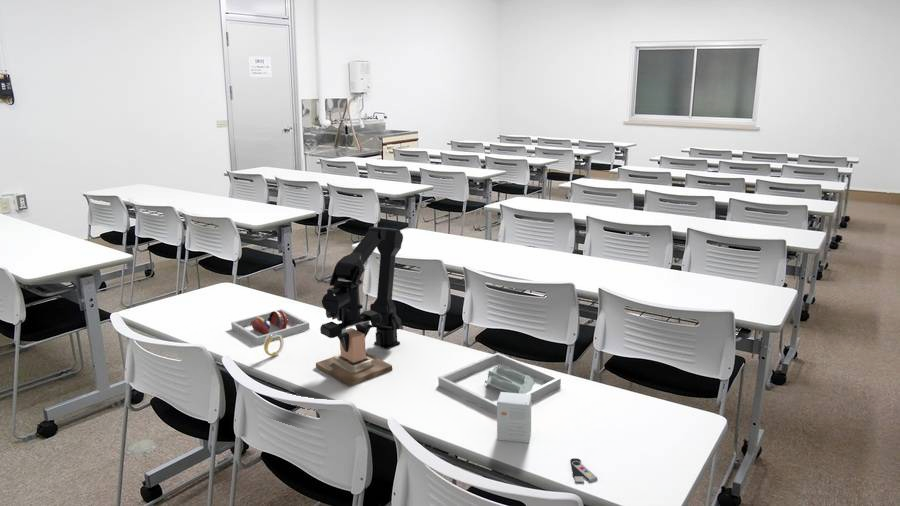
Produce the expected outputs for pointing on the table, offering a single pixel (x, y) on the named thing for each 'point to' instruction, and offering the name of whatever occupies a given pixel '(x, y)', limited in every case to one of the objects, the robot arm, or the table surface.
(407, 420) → the table surface
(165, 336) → the table surface
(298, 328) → the jewellery tray
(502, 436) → the small box
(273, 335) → the ring
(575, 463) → the usb flash drive
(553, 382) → the bracket rim
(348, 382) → the socket board
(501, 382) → the metal bracket
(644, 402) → the table surface
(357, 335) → the key block
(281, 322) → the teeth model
